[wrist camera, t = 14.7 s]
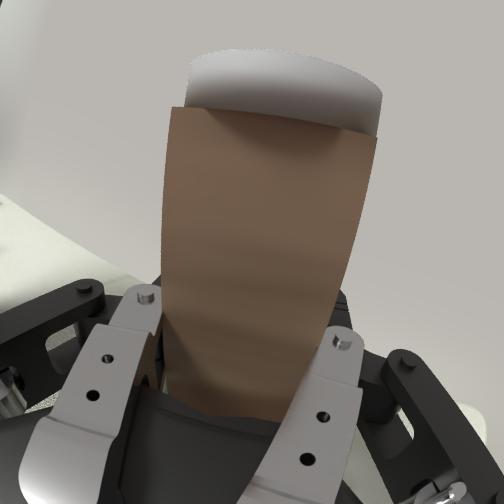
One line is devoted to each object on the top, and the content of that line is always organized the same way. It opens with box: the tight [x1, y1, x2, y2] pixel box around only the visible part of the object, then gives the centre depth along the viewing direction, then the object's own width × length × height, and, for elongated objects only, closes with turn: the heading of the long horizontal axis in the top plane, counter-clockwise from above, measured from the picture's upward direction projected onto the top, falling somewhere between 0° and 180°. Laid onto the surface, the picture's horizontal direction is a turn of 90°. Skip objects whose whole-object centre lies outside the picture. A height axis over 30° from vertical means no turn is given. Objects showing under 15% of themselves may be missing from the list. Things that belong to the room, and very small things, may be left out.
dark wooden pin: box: [161, 49, 382, 423], centre depth 9 cm, size 5×5×15 cm
